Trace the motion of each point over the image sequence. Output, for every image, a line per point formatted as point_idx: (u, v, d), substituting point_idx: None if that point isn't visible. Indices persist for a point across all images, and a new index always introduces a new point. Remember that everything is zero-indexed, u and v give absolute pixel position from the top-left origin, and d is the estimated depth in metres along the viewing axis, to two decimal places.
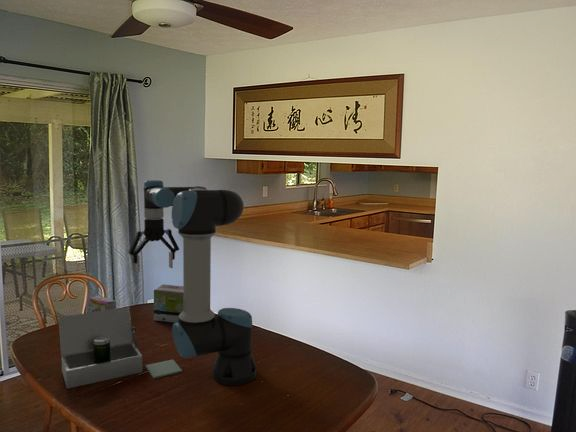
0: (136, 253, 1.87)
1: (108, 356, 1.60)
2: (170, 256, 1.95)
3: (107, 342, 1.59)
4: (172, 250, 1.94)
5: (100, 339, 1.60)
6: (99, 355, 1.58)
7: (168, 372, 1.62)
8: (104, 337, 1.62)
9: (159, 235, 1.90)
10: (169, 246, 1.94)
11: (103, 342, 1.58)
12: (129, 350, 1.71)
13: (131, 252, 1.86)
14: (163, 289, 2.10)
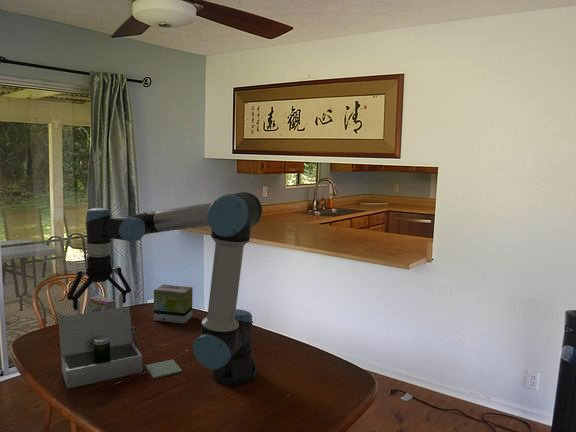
0: (76, 298, 1.53)
1: (108, 356, 1.60)
2: (120, 299, 1.61)
3: (107, 342, 1.59)
4: (122, 292, 1.61)
5: (100, 339, 1.60)
6: (99, 355, 1.58)
7: (168, 372, 1.62)
8: (104, 337, 1.62)
9: (105, 275, 1.56)
10: (118, 287, 1.60)
11: (103, 342, 1.58)
12: (129, 350, 1.71)
13: (69, 297, 1.52)
14: (163, 289, 2.10)
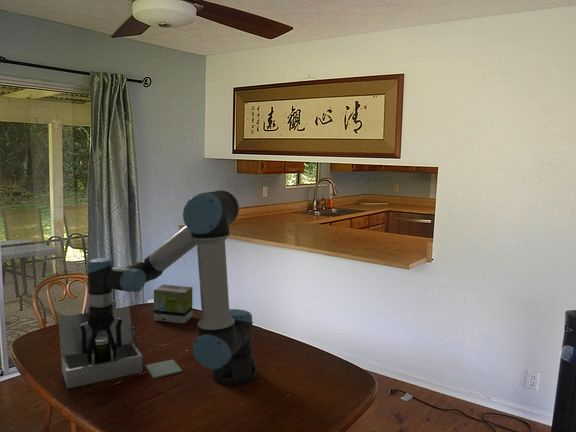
0: (90, 351, 1.58)
1: (108, 356, 1.60)
2: (110, 354, 1.62)
3: (107, 342, 1.59)
4: (113, 346, 1.62)
5: (100, 339, 1.60)
6: (99, 355, 1.58)
7: (168, 372, 1.62)
8: (104, 337, 1.62)
9: (106, 324, 1.59)
10: (112, 341, 1.61)
11: (103, 342, 1.58)
12: (129, 350, 1.71)
13: (84, 351, 1.56)
14: (163, 289, 2.10)
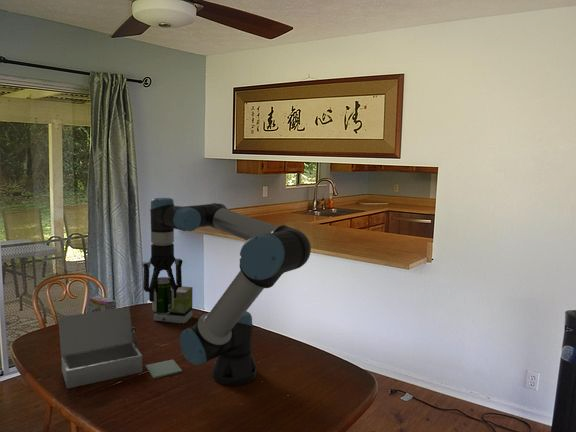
0: (152, 290, 1.58)
1: (169, 296, 1.61)
2: (171, 294, 1.62)
3: (169, 282, 1.60)
4: (174, 287, 1.62)
5: (161, 279, 1.61)
6: (161, 294, 1.59)
7: (168, 372, 1.62)
8: (165, 277, 1.62)
9: (168, 264, 1.59)
10: (173, 281, 1.61)
11: (165, 281, 1.59)
12: (129, 350, 1.71)
13: (146, 289, 1.57)
14: None
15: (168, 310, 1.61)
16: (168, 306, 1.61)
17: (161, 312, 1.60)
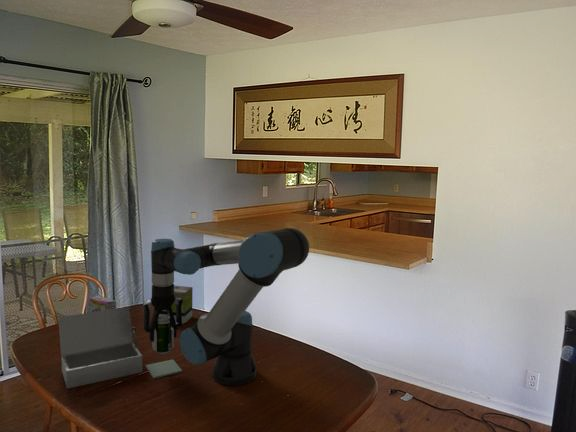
0: (152, 330, 1.60)
1: (169, 335, 1.63)
2: (171, 333, 1.64)
3: (169, 321, 1.62)
4: (174, 326, 1.64)
5: (162, 318, 1.63)
6: (161, 334, 1.61)
7: (168, 372, 1.62)
8: (165, 317, 1.64)
9: (168, 304, 1.61)
10: (173, 320, 1.63)
11: (165, 321, 1.61)
12: (129, 350, 1.71)
13: (147, 329, 1.59)
14: None
15: (168, 349, 1.63)
16: (168, 345, 1.63)
17: (161, 351, 1.62)
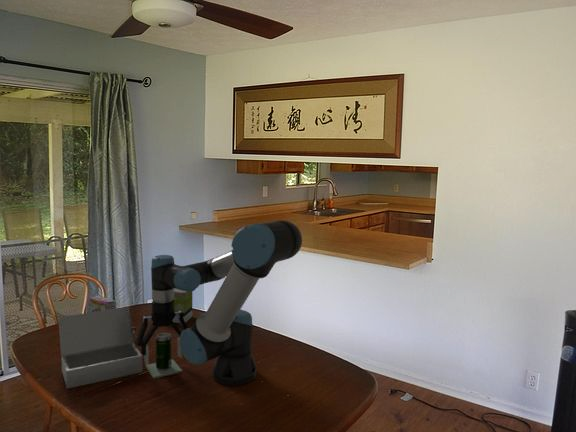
0: (145, 344, 1.59)
1: (170, 352, 1.64)
2: (179, 344, 1.66)
3: (169, 338, 1.63)
4: None
5: (162, 335, 1.63)
6: (162, 350, 1.61)
7: (168, 372, 1.62)
8: (165, 333, 1.65)
9: (169, 320, 1.62)
10: (179, 332, 1.65)
11: (166, 338, 1.62)
12: (129, 350, 1.71)
13: (139, 343, 1.58)
14: None
15: (169, 366, 1.64)
16: (169, 362, 1.63)
17: (162, 368, 1.62)
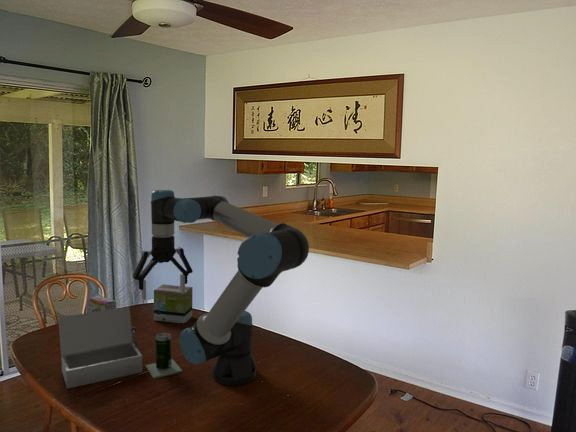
0: (142, 278, 1.56)
1: (170, 352, 1.64)
2: (182, 280, 1.64)
3: (169, 338, 1.63)
4: (184, 273, 1.64)
5: (162, 335, 1.63)
6: (162, 350, 1.61)
7: (168, 372, 1.62)
8: (165, 333, 1.65)
9: (169, 255, 1.59)
10: (181, 268, 1.63)
11: (166, 338, 1.62)
12: (129, 350, 1.71)
13: (136, 277, 1.55)
14: (163, 289, 2.10)
15: (169, 366, 1.64)
16: (169, 362, 1.63)
17: (162, 368, 1.62)
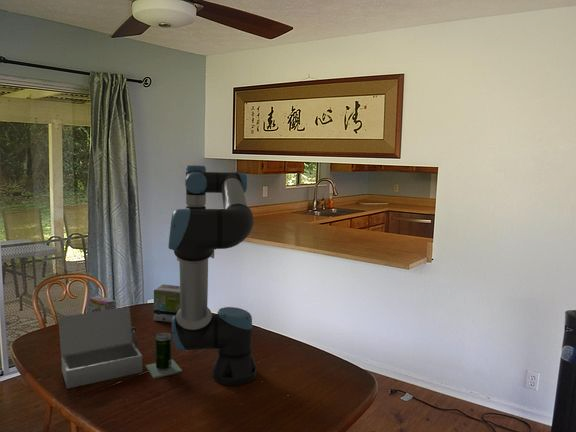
0: None
1: (170, 352, 1.64)
2: None
3: (169, 338, 1.63)
4: None
5: (162, 335, 1.63)
6: (162, 350, 1.61)
7: (168, 372, 1.62)
8: (165, 333, 1.65)
9: None
10: None
11: (166, 338, 1.62)
12: (129, 350, 1.71)
13: None
14: (163, 289, 2.10)
15: (169, 366, 1.64)
16: (169, 362, 1.63)
17: (162, 368, 1.62)
